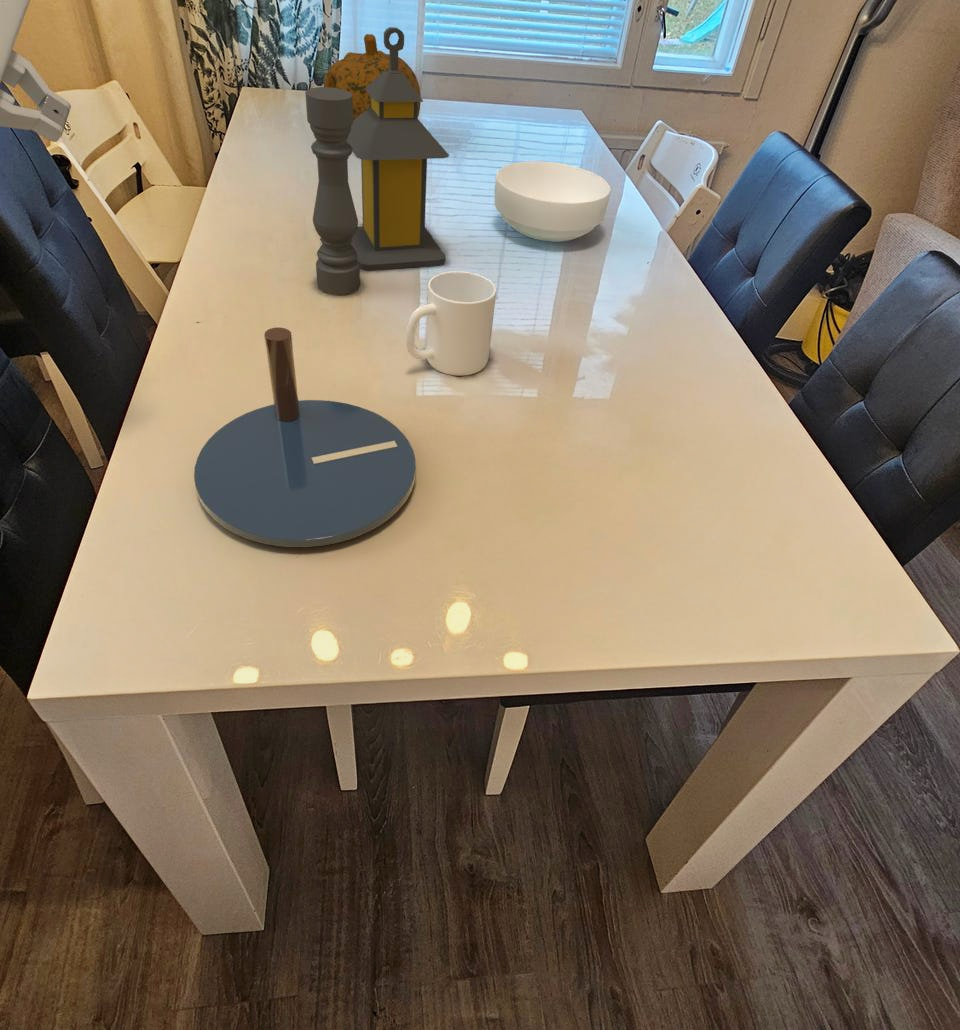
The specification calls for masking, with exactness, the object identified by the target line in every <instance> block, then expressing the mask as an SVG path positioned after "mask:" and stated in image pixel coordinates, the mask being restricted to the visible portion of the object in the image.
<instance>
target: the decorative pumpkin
mask: <svg viewBox="0 0 960 1030" xmlns="http://www.w3.org/2000/svg"><path fill="white" fill-rule="evenodd" d="M363 41H364V50H365V53H359V52H353V51H352V52H351V51H349V52H347V53H346V54H345V55H344V57H343V58H342V59H339V60H337V61H335V62H334V63H333V64H332V65H331V66H330V67H329V68H328V71H327V72H326V74H325V76H324V82H323V87H331V88H338V89H343V90H346V91H348V92H350V93H351V94H352V96H353V120H355V119H356V118H357V117H358V116H360V115H361V114H362V113H363V112H365V111H366V110H367V109H368V108H370V107H371V96H370V95H369V93H368V92H367V91H366V90H365V88H366V87H367V86H368V85H369V84H370V83H371V82H373V81H374V80H375V79H376V78H377V77H378V76H379V75H380V74H381V73H382V72H383V71H384V70H386V69H390V53H385V52H383V51H382V50H378V44H377V39H376V36H375V35H374V34H373V33H366V34H365V35H364V36H363ZM398 70H400V71H401V72H402V73H403V75H404V76H405V77H406V79H407V80H408V81H409V83H410V84H411V85H412V87H413V88H414V89H415V91H416V92H417V93H418V95H419V96H420V97H421V88H420V84H419V80H418V78H417V76H416V74H415V72H414V71H413V70H412V68H411V66H409V64H408V63H407V62H406V61H405V60H404V59H402V58H401V57H399V56H398ZM421 98H422V97H421ZM421 103H422V102H417V118H418V119H419V117H420V112H421V111H420V110H421Z"/></svg>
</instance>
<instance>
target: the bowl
mask: <svg viewBox="0 0 960 1030" xmlns="http://www.w3.org/2000/svg"><path fill="white" fill-rule="evenodd" d="M494 181H495V184H494V197H493V198H494V201H493V203H494V207H495V209H496V210H497V211H498V212H499V214H500V216H501V218H502V220H503V221H504V222H505V223H506V224H507V225H508V226H509V227H511V229H513V230H515V232H517V233H518V234H521V235H522V236H525V237H527V238H530V239H534V240H538V241H543V242H552V243H553V242H554V243H560V242H561V243H562V242H568V241H569V242H570V241H572V240H575V239H578V238H580V237H582V236H585V235H587V234H589V233H590V232H592V231H593V230H594V228H595V227H596V226H598V225H600V224H601V223H602V222H603V220H604V218H605V215H606V212H607V208H608V206H609V205H608V204H609V200H610V196H611V192H612V191H611V186H610V184H609V182H608V181H607V180H605V179H604V178H603V177H602V176H600V175H598V174H597V173H595V172H592V171H590V170H587V169H584V168H581V167H578V166H574V165H571V164H566V163H561V162H555V161H541V160H529V161H528V160H527V161H518V162H514V163H513V162H512V163H510V164H506V165H503V166H502V167H500V168H499V169H498V170H497V172H496V174H495V180H494Z"/></svg>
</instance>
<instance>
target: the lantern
mask: <svg viewBox="0 0 960 1030" xmlns="http://www.w3.org/2000/svg"><path fill="white" fill-rule="evenodd" d="M393 34H397V37H398V39H397V42H396V43H395V44H391V40H390V38H391V35H393ZM383 45H384V48H385V49H386V50H389V54H390V69H386V70H384V71H383V72H382V73H381V74H380V75H379V76H378V77H377V78H376V79H375V80H374V81H373V82H371V83H370V84H369V85H368V86H367V87H366V88H365V90H366V91H367V92H368V93H369V95H370V96H371V107H370V108H368V109H367V110H366V111H365V112H363V113H362V114H361V115H360V116H358V117H357V118H356V119H355V120H353V124H352V126H351V132H350V133H349V136H348V139H347V143H349V144H350V145H351V147H352V154H354V156H355V157H356V158H357V159H359V160H360V162H361V163H360V165H361V166H360V167H361V203H362V205H361V206H362V207H361V208H362V209H361V210H362V226H358V227H357V230H356V232H355V234H354V236H353V237H352V240H353V241H352V242H351V245H352V246H353V248H354V249H355V250H356V252H357V255H358V256H357V258H356V260H358V262H359V265H360V270H362V271H365V272H366V271H368V272H371V271H385V270H386V271H387V270H397V269H398V270H399V269H412V268H414V269H415V268H425V267H441V266H443V265H445V263H446V254H445V253H444V251H443V250H442V248H441V247H440V246H439V245H438V243H437V242H436V239H434V237H433V236H432V234H431V233H430V231H429V230H428V229H427V228H426V206H427V205H426V202H427V200H426V199H427V175H428V174H427V172H428V160H430V159H448V158H449V156H450V154H449V153H448V152H447V151H446V150H445V148H444V147H443V146H442V145H441V143H439V142H438V140H437V139H436V138H435V137H434V135H433V134H431V132H430V130H428V129H427V128H426V127H425V125H424V124H423V123H422V122H421V121H420V120H419V117H418V118H417V102H421V103H423V102H424V100H423V98H422V97H420V96H419V95H418V93H417V92H416V91H415V89H414V88H413V87H412V85H411V84H410V83H409V81H408V80H407V79H406V77H405V76H404V75H403V73H402V72H401V71H400V70H398V57H399V52H400V51H402V50H403V49H404V47H405V34H404V32H403V31H402V30H401V29H399V28H398V27H393V26H391V27H390V26H389V27H387V28H386V29H385V30H384V32H383Z"/></svg>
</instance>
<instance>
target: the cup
mask: <svg viewBox="0 0 960 1030" xmlns="http://www.w3.org/2000/svg"><path fill="white" fill-rule="evenodd" d="M496 299H497V287H496V285H495V283H494V282H493V281H492V280H491V279H489V278H488V277H485V276H483V275H481V274H478V273H474V272H470V271H461V270H460V271H458V270H457V271H456V270H455V271H454V270H453V271H444V272H441V273H438V274H435V275H434V276H433V277H431V278H430V279H429V281H428V283H427V301H426V304H424V305H420V306H419V307H417V308H415V309H414V310H413V311H412V312H411V314H410V316H409V318H408V322H407V325H406V331H405V345H406V349H407V352H408V354H409V356H411V357H412V358H414V359H416V360H419V361H420V360H427V362H428V363H429V365H430V366H431V367H432V368H433V369H434V370H436V371H438V372H440V373H442V374H446V375H451V376H456V377H457V376H458V377H459V376H463V377H464V376H470V375H471V376H472V375H475V374H477V373H479V372H480V371H482V370H483V369H484V368H485V367H486V365H487V364H488V361H489V358H490V352H491V342H492V334H493V324H494V316H495V308H496V307H495V306H496ZM423 317H426V327H425V348H423V349H418V348H417V346H416V343H415V341H416V340H415V339H416V338H415V336H416V330H417V326H418V323H419V321H420V319H422V318H423Z"/></svg>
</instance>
